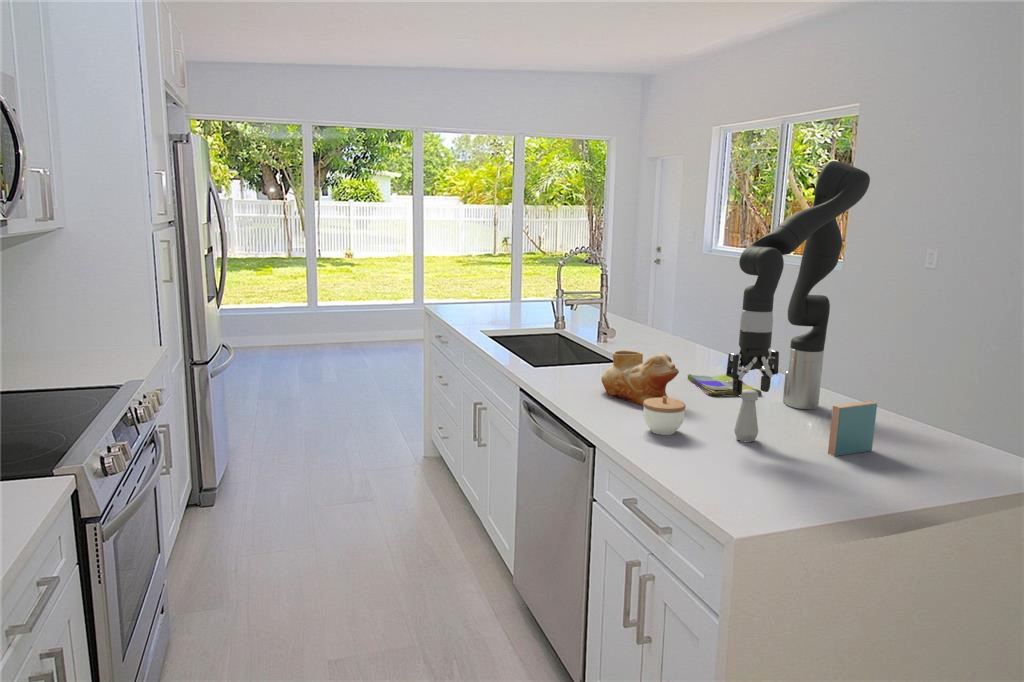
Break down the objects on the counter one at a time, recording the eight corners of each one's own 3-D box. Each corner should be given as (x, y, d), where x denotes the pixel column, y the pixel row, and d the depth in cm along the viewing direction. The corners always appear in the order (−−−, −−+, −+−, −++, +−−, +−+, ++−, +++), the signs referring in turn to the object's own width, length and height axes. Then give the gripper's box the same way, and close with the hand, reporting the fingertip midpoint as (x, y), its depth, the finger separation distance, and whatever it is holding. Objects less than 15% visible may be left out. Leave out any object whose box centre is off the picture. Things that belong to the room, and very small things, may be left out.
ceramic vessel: (657, 411, 204) (660, 360, 201) (591, 392, 223) (593, 345, 221) (686, 403, 212) (690, 354, 209) (621, 385, 232) (623, 341, 229)
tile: (827, 453, 170) (832, 405, 168) (864, 448, 175) (869, 401, 173) (835, 456, 168) (840, 408, 166) (872, 450, 173) (877, 403, 171)
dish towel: (734, 379, 245) (735, 372, 245) (764, 398, 221) (764, 389, 221) (685, 379, 244) (685, 372, 243) (709, 398, 220) (709, 390, 220)
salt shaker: (741, 444, 176) (745, 393, 174) (729, 437, 181) (732, 387, 179) (762, 442, 178) (766, 392, 175) (749, 435, 183) (753, 386, 181)
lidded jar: (653, 439, 179) (655, 403, 177) (635, 426, 189) (636, 392, 187) (691, 436, 182) (693, 401, 180) (671, 424, 192) (673, 390, 190)
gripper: (767, 325, 180) (762, 387, 183) (722, 327, 175) (718, 391, 177) (789, 329, 173) (784, 394, 176) (743, 332, 168) (738, 398, 171)
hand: (750, 392), depth 177 cm, fingers open, 8 cm apart
